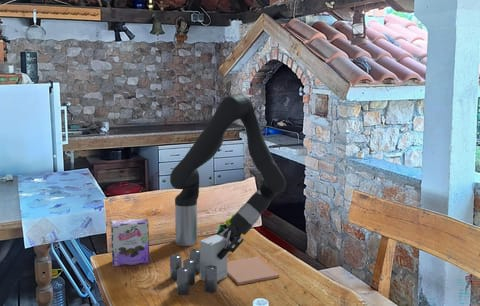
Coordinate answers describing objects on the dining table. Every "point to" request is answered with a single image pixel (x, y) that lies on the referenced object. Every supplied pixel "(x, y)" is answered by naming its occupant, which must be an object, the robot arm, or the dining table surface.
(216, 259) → the skincare box
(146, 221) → the candy box
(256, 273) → the terracotta tile
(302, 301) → the dining table surface
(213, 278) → the posts
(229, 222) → the potted cactus
